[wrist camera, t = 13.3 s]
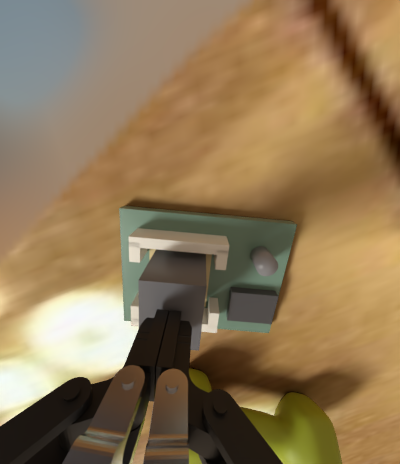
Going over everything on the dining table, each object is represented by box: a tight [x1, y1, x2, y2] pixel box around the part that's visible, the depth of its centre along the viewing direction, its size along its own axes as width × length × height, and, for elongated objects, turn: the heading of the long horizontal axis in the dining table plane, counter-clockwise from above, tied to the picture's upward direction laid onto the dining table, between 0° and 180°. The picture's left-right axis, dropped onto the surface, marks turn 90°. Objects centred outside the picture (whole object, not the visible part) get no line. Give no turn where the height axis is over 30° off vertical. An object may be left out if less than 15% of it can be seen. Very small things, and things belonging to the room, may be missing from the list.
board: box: [119, 206, 297, 333], centre depth 17 cm, size 14×11×3 cm
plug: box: [138, 249, 207, 350], centre depth 15 cm, size 4×6×5 cm
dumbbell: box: [189, 368, 342, 464], centre depth 20 cm, size 16×8×7 cm, turn 73°
